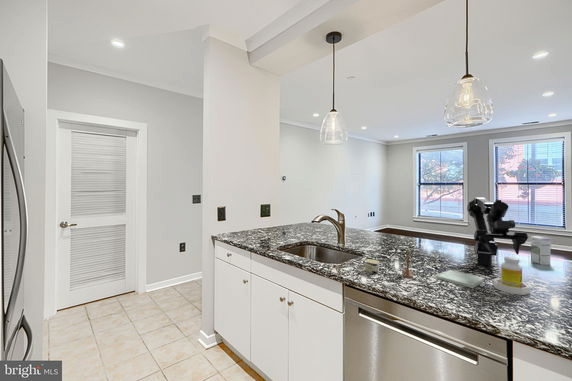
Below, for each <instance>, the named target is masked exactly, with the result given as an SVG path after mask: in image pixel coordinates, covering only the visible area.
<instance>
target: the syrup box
mask: <svg viewBox="0 0 572 381" xmlns="http://www.w3.org/2000/svg"><path fill="white" fill-rule="evenodd" d="M530 238H531V240H530V241H531V244H530V262H532V263H534V264H538V265H541V266H545V265H546V266H548V265H551V250H552V248H551V247H552V245H551V244H552V238H550V237H546V236H542V235H541V236H540V235H533V236H531V237H530Z"/></svg>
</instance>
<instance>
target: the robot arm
mask: <svg viewBox="0 0 572 381" xmlns="http://www.w3.org/2000/svg"><path fill="white" fill-rule="evenodd" d="M508 210H509V205H508V203H506V202H503V201H502V200H501V199H496V200H495V201H494V202H491V201H490V200H488V199H487V198H486V197H478V196H477V197H474V199H473V200H471V201H470V202H468V204H467V208H466V211H467V212H468V214H469V216H470V217H471V218H472V219H473V221H474V225H475V229H476V230H475V232H474V235H473V239H474V242H475V241H476V243H475V245H474V247H473V253H475V255H477V258H476V259H477V261H476V262H474V265H476V266H480V267H484V268H488V269H489V268H494V267H495V264H494V265H493V264H492V263H493V262H492V261H493V260H492V259H493V258H492V257H493V256H494V257H496V256H497V254H498V249H499V248H498V245H497V243H496V241H495V240H496V239H497V240H509V241H512V246H513V249H514V252H515V254H516V255H519V253H520V246H522V245H524V244H526V242H527V240H528V239H529V236H528V233H527V232H523V231H522V232H521V231H515V232H514V233H513V234H509V233H510V229H514V228H515V227H516V222H515V220H513V219H508V220H503V218H505V217H506V214H507V211H508ZM485 215H486V220H485V218H484V216H485ZM486 222H487V224H488V228H487V225H486ZM488 231H489V232H488Z"/></svg>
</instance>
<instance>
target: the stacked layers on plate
mask: <svg viewBox="0 0 572 381" xmlns="http://www.w3.org/2000/svg"><path fill="white" fill-rule="evenodd" d="M364 261H365V262H364V265H365V266H364V270H365V272H368V273H374V272H375V273H377V274H378V273H379V270H380V267H379V266H380V260H377V259H368V258H367V259H365V260H364Z"/></svg>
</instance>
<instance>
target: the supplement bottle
mask: <svg viewBox="0 0 572 381" xmlns="http://www.w3.org/2000/svg"><path fill="white" fill-rule="evenodd" d="M503 258H504V259H503V260H504V262H502V263H501V264H500V278H501V284H504V285H507V286H511V287H519V288H522V283H523V266H521V265H520V258H517V257H513V256H504V257H503Z"/></svg>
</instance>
